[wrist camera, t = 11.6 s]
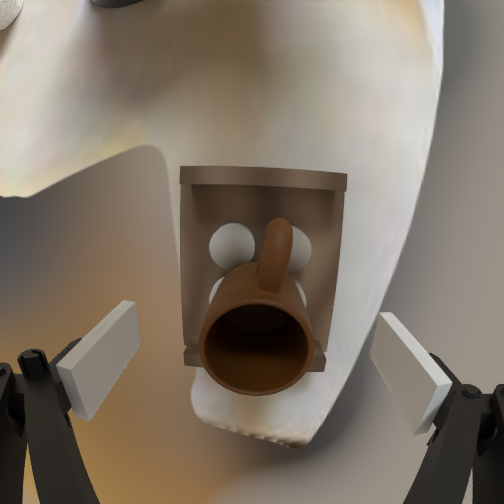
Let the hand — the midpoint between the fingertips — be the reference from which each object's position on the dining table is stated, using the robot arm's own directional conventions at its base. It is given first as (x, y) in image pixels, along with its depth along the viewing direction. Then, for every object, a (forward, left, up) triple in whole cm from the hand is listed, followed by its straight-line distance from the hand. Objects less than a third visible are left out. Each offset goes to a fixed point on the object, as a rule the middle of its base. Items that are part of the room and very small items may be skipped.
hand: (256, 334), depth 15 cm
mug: (0, 0, -12) cm, 12 cm away
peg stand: (0, 0, -16) cm, 16 cm away
